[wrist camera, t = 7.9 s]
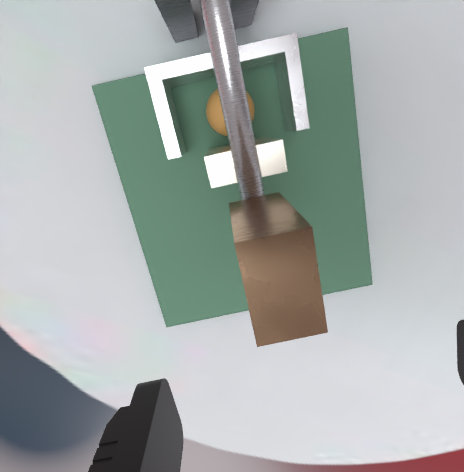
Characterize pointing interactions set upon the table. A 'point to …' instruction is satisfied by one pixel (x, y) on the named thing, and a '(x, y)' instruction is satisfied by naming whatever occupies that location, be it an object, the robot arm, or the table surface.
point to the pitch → (217, 199)
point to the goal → (201, 68)
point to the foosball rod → (261, 205)
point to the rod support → (183, 23)
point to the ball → (216, 113)
